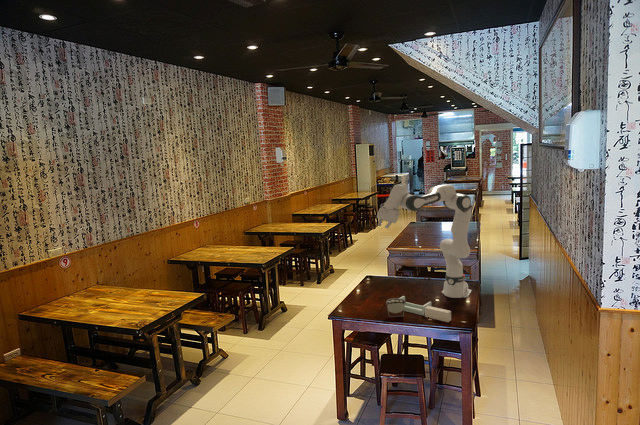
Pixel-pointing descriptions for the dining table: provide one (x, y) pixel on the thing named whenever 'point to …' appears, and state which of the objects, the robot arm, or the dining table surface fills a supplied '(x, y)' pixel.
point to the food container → (395, 307)
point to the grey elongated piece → (415, 307)
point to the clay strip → (438, 313)
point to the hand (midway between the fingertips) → (382, 227)
